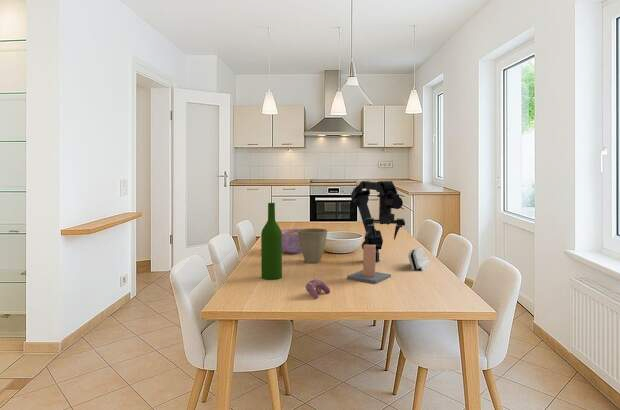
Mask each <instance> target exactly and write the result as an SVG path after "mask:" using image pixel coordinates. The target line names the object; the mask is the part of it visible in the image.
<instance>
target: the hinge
mask: <svg viewBox="0 0 620 410" xmlns="http://www.w3.org/2000/svg"><path fill="white" fill-rule="evenodd" d="M408 260H409V263H410V267H411V270H412V271H414V270H419V269H420V270H421V272H423V271H424V269H425V270H426V269H427V268H428V267H430V266H431V265H430V264H431V260H429V259H428V258H427V255H426V253H425V250H424V249H423V248H422V247H417V248H413V249H412V250H410V251H409V253H408Z"/></svg>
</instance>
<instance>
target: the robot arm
mask: <svg viewBox="0 0 620 410" xmlns="http://www.w3.org/2000/svg"><path fill="white" fill-rule="evenodd" d="M371 190H373V191H376V192H377V193H378V194H377V195H376V197H377V198H378V199H379V203H378V205H379V207H378V210H379V211H378V219H375V218H374V217H372V215H371V211H370V208H369V206H368V203H369V200H370V199H369V196H370V194H371ZM350 197H351V200H352V202H353V204H354V206H356V207H357V208H358V212H359V214H360V217H361V220H362V224H363V227H364V231H365V234H364V240H363V242H362V244H361V249H362V250H363V246H364V244H366V245H376V253H375V263H378V262H380V261H381V260H380V252H379V251H380V250H382V247H383V243H384V241H383V236H382V233H381V232H382V231H381V230H379V229H376V225H375V224H379V225H388V226H389V225H390V224H392V225H395V227H394V233H393V240H394V241H395V240H396V239H397V238H396V237H397V234H398V232H399V230H400V228H403V227H404V226H406V219H404V218H401V217H399V218H396V219H395V213H392V209H395V210H399V209H401V208H402V207H403V203H404V202H403V199H402V198H401V197H400V194H399V193H398V191H397V189H396V185H395V184H394V182H393V181H392V180H379V181H370V180H363V181H360V182H359V184H358V185H357V186H355V188H353V190H352V192H351V193H350Z"/></svg>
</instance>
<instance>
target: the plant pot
mask: <svg viewBox="0 0 620 410" xmlns="http://www.w3.org/2000/svg"><path fill="white" fill-rule="evenodd" d="M299 229H300V230H298V237H299V243H300V247H301V253H302V256H303V259H304V262H305V263H307V264H317V263H320V262H321V259H322V257H323V255H324V251H325V246H326V242H327V235H328V229H324V228H315V227H314V228H311V227H310V228H302V229H301V228H299Z"/></svg>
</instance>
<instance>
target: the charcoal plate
mask: <svg viewBox="0 0 620 410" xmlns="http://www.w3.org/2000/svg"><path fill="white" fill-rule="evenodd" d="M391 276H392V274H391V273H386V272H378V271H375V277H369V276H363V269H362V270H358V271H357V272H353V273H351V274H349V275H347V277H346V279H347V280H352V281H358V282H363V283H371V284H379V283H381V282H383V281H386V280H387V279H389V278H391Z"/></svg>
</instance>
